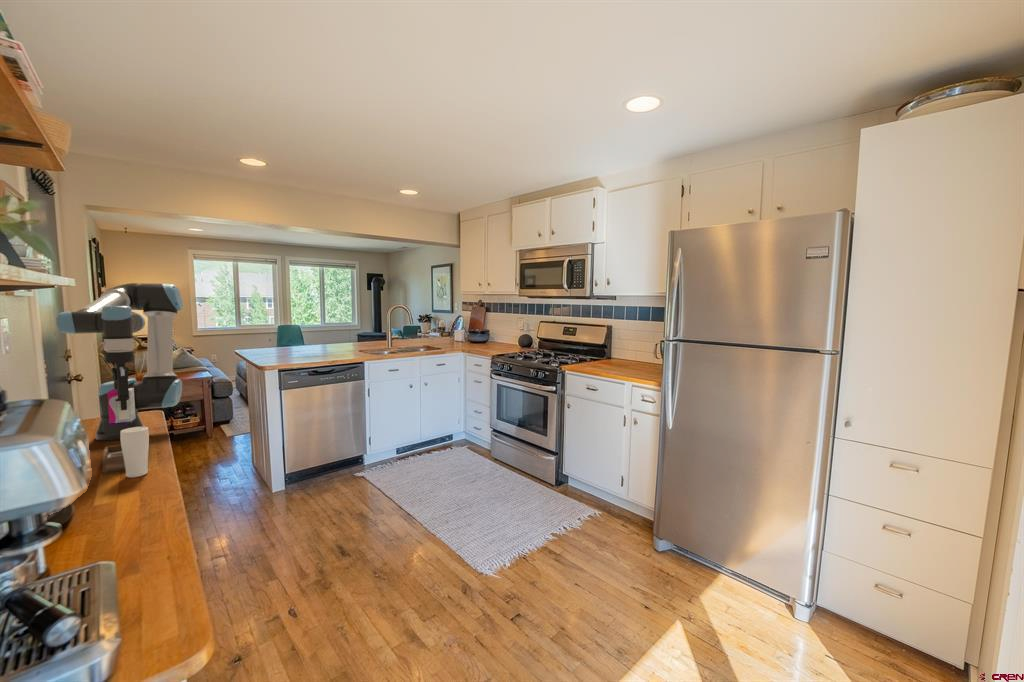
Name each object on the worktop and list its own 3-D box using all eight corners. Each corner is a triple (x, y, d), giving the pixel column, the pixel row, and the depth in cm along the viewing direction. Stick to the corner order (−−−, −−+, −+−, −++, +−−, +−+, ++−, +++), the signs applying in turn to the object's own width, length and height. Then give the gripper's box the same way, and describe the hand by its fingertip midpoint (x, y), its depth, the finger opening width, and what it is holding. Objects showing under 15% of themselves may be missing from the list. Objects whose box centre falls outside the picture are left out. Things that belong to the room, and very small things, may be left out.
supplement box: (136, 419, 152) (134, 387, 151) (131, 423, 147) (129, 390, 146) (114, 421, 149) (112, 388, 148) (108, 425, 144) (106, 391, 143)
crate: (106, 460, 150) (105, 446, 150) (147, 453, 157) (146, 440, 157) (103, 474, 138) (102, 459, 137) (147, 466, 145) (147, 451, 145)
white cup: (122, 481, 133) (119, 433, 132) (123, 474, 138) (120, 428, 137) (150, 475, 137) (148, 429, 136) (151, 469, 142) (148, 425, 141)
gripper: (101, 350, 150) (105, 414, 151) (106, 353, 137) (110, 424, 138) (129, 349, 156) (133, 411, 157) (137, 352, 142) (141, 420, 144)
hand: (122, 417), depth 148 cm, fingers closed on supplement box, 7 cm apart
